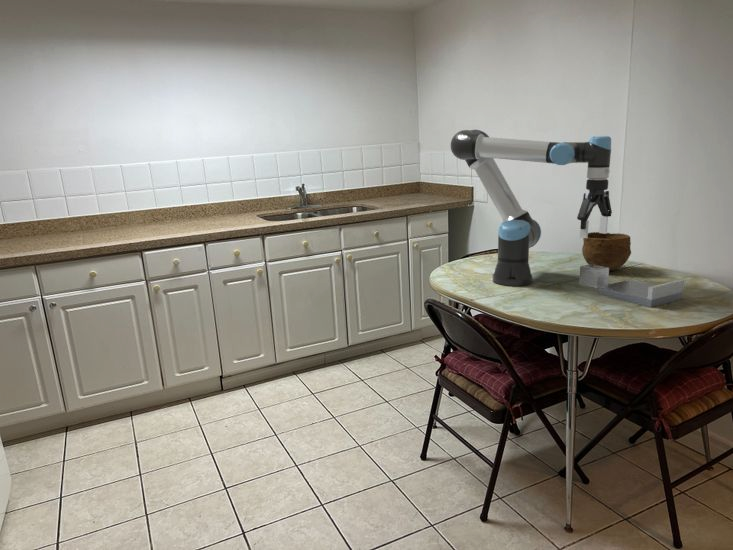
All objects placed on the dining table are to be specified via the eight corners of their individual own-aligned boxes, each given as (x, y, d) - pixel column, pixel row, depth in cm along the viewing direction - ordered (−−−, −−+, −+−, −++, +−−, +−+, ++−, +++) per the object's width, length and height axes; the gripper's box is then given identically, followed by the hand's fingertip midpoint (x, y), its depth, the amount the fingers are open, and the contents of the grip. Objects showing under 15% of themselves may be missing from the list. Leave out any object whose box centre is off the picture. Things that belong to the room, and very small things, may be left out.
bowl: (572, 266, 236) (574, 232, 232) (613, 264, 237) (616, 230, 234) (593, 276, 217) (596, 239, 214) (638, 274, 219) (641, 237, 215)
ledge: (650, 307, 177) (652, 288, 175) (598, 293, 194) (599, 275, 192) (682, 298, 185) (684, 280, 183) (629, 286, 202) (630, 269, 200)
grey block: (596, 288, 201) (598, 268, 199) (579, 283, 207) (580, 264, 206) (607, 286, 204) (609, 266, 202) (589, 281, 210) (591, 262, 208)
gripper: (588, 181, 191) (584, 240, 196) (624, 177, 206) (619, 232, 211) (569, 180, 197) (566, 238, 202) (605, 176, 212) (601, 230, 217)
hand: (593, 235), depth 207 cm, fingers open, 13 cm apart
